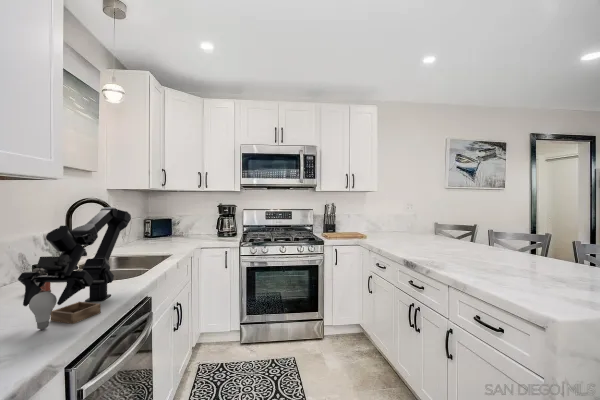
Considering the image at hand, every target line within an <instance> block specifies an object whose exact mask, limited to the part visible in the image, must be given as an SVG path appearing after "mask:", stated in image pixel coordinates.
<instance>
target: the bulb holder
mask: <svg viewBox="0 0 600 400" xmlns="http://www.w3.org/2000/svg"><path fill="white" fill-rule="evenodd" d="M101 306H102V305H101V303H96V302H89V301H87V302H85V301H77V302H74V303H72V304H71V303H70V304H68V305H65V306H63V307H59V308H56V309H53V310H52V312H51V315H50V321H51V322H56V323H63V324H64V323H65V324H72V325H73V324H77V323H79V322H80V321H84V320H86V319H88V318H91V317H93V316H95V315H98V314H100V313H101V309H102V307H101Z"/></svg>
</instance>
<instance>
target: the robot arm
mask: <svg viewBox="0 0 600 400" xmlns="http://www.w3.org/2000/svg"><path fill="white" fill-rule="evenodd" d="M131 219H132V215H131V213H129V211H126V210H125V211H124V210H121V209H118V208H116V207H103V208H101V209H100V211H99V212H98V213H97V214H95V215H94V216H93V217H92V218H91V219H89V221H87V223H85V224H83V225H79V226H77V227H75V228H73V229H70V228H69V226H68V225H60V226H59V227H58V228H55V229H53V230H51V231H50V232H48V233H47V234H46V235H45V239H46V241H47V242H48V243H49V244H50V245H51V246H52V247H53V248H54V250H55V251H57V252H59V253H60V254H59V256H54V255H53V256H51V255H50V256H40V257H39V259H38V262H37V264H36V269H45V270H44V272H45V273H47V274H48V275H47V276H41V275H40V274H39V273H38V272H33V271H23V272H21V273H20V274H19V276H18V278H17V280H18V281H19V282H20V283H21V284H23V286H24V289H25V290H24V294H23V295H24V297H23V302H22V306H24V307H28V306H29V302H30V300H31V299H32V298H33V297H34V296H35V295H37V294H38V293H39V292H40V291H41V288H40V287H42V286H43V285H44V283H45V282H50V283H66V285H65V287H64V289H63V291H62V292H61V294H60V296H59V298H58V299H57V302H56V305H57V306H62V304H63V303H65V302H66V301H67V300H69V299H70V298H71V297H73V296H74V295H76V294H77V293H78V292H80V291H81V290H84V289H86V288H87V287H88V288H89V289H88V290H89V296H88V298H87V299H85V300H84V302H100V301H105V300H106V299H108V298H110V297H111V296H112V294H111V293H108V284H111V283H113V281H114V277H115V275H114V274H113V272H112V271H111V264H110V263H109V262H110V261H109V260H110V258H111V256H112V252H113V250H114V248H115V246H116V243H117V241H118V238H119V236H120V233H121V232H122V231H123V230H124V229H125V228H127V227H128V225H129V223H130V221H131ZM106 225H107V228H106V230H105V233H104V235H103V237H102V239H101V242H100V244H99V246H98V249H97V251H96V252H95V254H94V257H92V258H87V259H86V260H85V263H84V265H83V266H82V270H79V266H78V265H79V262H80V260H81V258H82V257H88V252H87V250H86V248H84V246H92V245H94V243H95V242H96V241H97V239H98V237H99V236H98V234H99V232H100V231H101V230H102V229H103V228H104V227H105V226H106Z"/></svg>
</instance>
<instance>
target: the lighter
mask: <svg viewBox="0 0 600 400" xmlns="http://www.w3.org/2000/svg"><path fill="white" fill-rule="evenodd" d="M44 270H45V269H42V268H33V269H32V272H38V273H39V274H40V275H41V276H47V275H48V274H47V273H45V272H44ZM40 288H41V291H40V292H39V293H42V292H50V293H52V289H51V282H45V283H44V285H43V286H42V287H40ZM39 293H38V294H39Z"/></svg>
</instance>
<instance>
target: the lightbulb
mask: <svg viewBox="0 0 600 400" xmlns="http://www.w3.org/2000/svg"><path fill="white" fill-rule="evenodd" d="M57 302H58V299H57V296H56V295H55V294H54V293H53V292H42V293H39V294H37V295H35V296H34V297H33V298H32V299H31V300H30V302H29V304H28V309H29V310H30V311H31V313H32V314H33V315H34V317H35V323H36V328H37V330H41V331H44V330H46V329H47V328H48V327H49V325H50V320H51V312H52V311H53V310H54V308H55V307H56V305H57Z"/></svg>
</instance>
